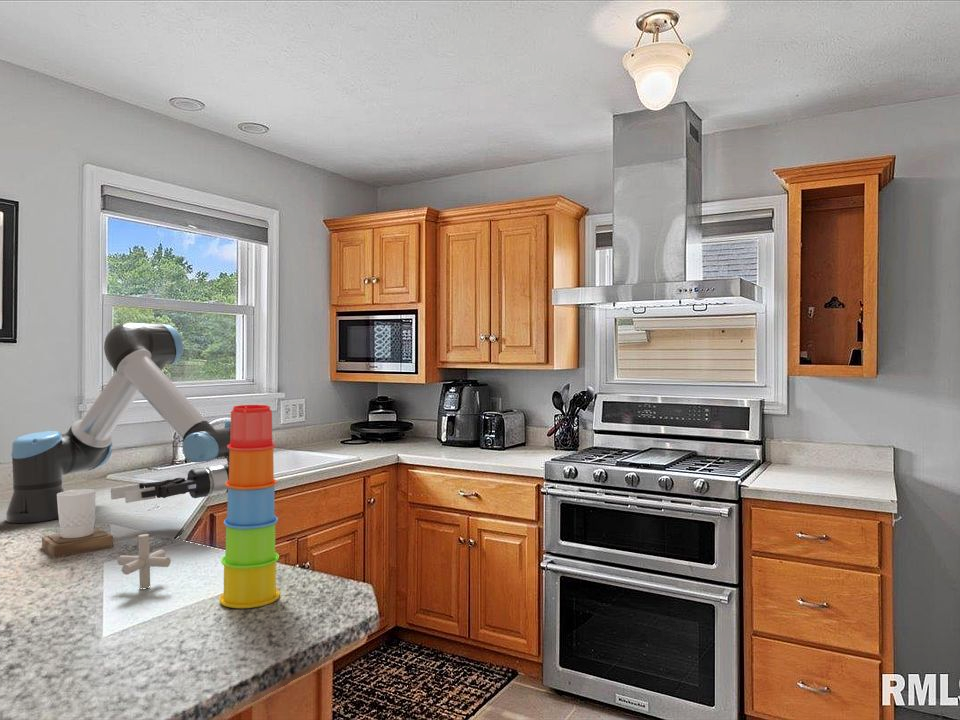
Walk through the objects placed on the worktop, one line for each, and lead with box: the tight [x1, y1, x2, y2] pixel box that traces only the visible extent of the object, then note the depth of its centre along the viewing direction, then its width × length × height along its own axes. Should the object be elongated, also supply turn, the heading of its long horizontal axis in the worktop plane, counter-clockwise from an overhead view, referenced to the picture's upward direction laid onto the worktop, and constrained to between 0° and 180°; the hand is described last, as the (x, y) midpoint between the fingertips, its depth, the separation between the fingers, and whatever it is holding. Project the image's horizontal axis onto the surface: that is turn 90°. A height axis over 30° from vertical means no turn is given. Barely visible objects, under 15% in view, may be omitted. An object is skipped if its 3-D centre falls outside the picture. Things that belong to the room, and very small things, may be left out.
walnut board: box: [41, 526, 115, 559], centre depth 163 cm, size 12×12×3 cm
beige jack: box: [117, 533, 172, 590], centre depth 133 cm, size 10×10×10 cm
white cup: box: [57, 488, 97, 539], centre depth 163 cm, size 8×8×10 cm
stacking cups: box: [218, 404, 281, 609], centre depth 125 cm, size 10×10×35 cm
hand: (118, 495), depth 170 cm, fingers open, 13 cm apart
